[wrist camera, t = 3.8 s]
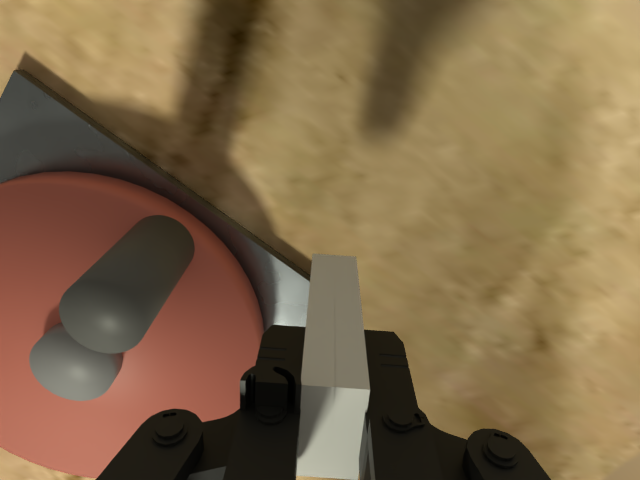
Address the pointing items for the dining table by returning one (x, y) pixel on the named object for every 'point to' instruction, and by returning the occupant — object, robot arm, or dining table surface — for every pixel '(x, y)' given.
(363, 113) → the dining table surface
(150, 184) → the wheel base
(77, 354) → the red disc with handle
